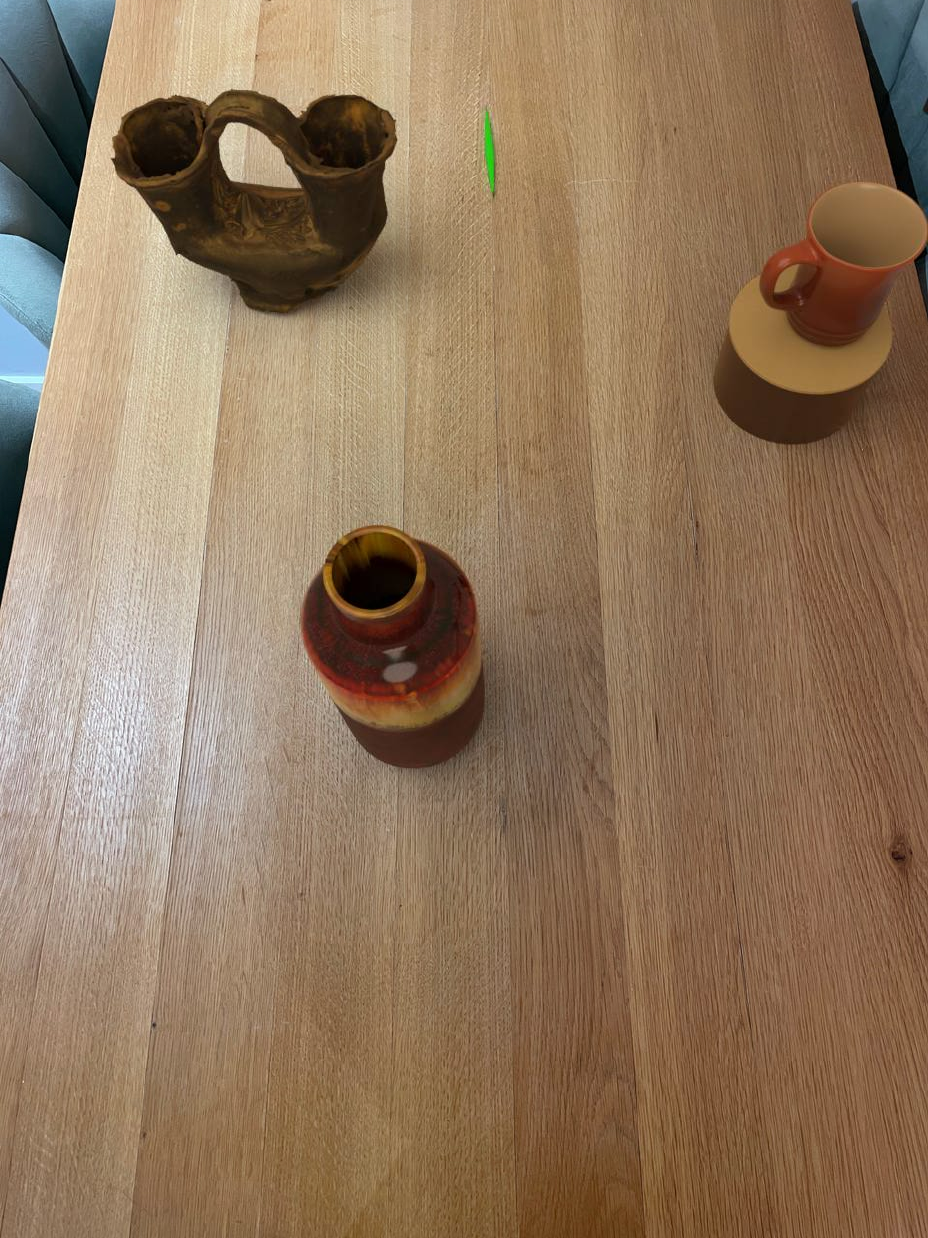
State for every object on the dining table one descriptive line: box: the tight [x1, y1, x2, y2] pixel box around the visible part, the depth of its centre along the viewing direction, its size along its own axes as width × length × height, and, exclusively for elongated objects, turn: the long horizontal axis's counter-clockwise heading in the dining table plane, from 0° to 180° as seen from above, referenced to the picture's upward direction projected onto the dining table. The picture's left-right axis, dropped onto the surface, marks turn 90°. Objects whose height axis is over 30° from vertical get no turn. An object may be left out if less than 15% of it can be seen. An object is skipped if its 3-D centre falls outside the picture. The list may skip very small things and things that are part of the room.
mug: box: [759, 180, 928, 347], centre depth 75 cm, size 12×9×10 cm
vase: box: [299, 524, 486, 770], centre depth 64 cm, size 11×11×26 cm
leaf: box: [484, 106, 495, 196], centre depth 100 cm, size 1×14×1 cm, turn 3°
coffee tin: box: [713, 264, 893, 445], centre depth 83 cm, size 13×13×8 cm
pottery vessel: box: [110, 88, 398, 315], centre depth 85 cm, size 25×11×20 cm, turn 87°
